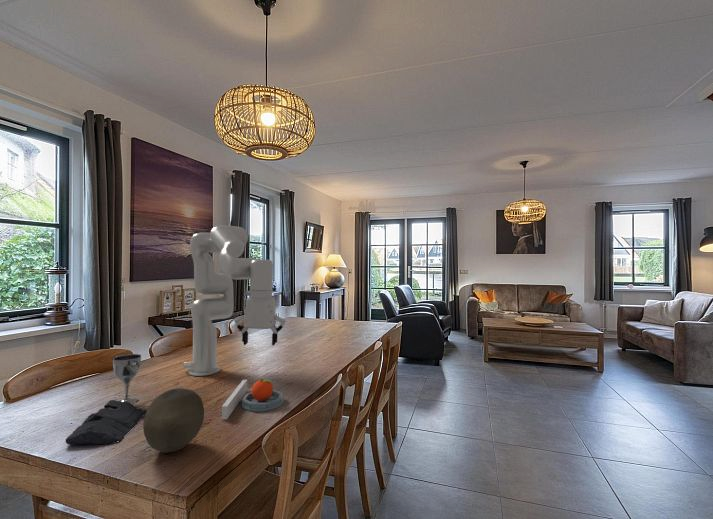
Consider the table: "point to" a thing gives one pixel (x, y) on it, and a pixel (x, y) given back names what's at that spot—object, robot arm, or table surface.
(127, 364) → the wine glass
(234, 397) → the low wall
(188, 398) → the cantaloupe
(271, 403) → the grey shallow dish
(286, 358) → the table surface
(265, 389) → the clementine
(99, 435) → the dark slate chunk
